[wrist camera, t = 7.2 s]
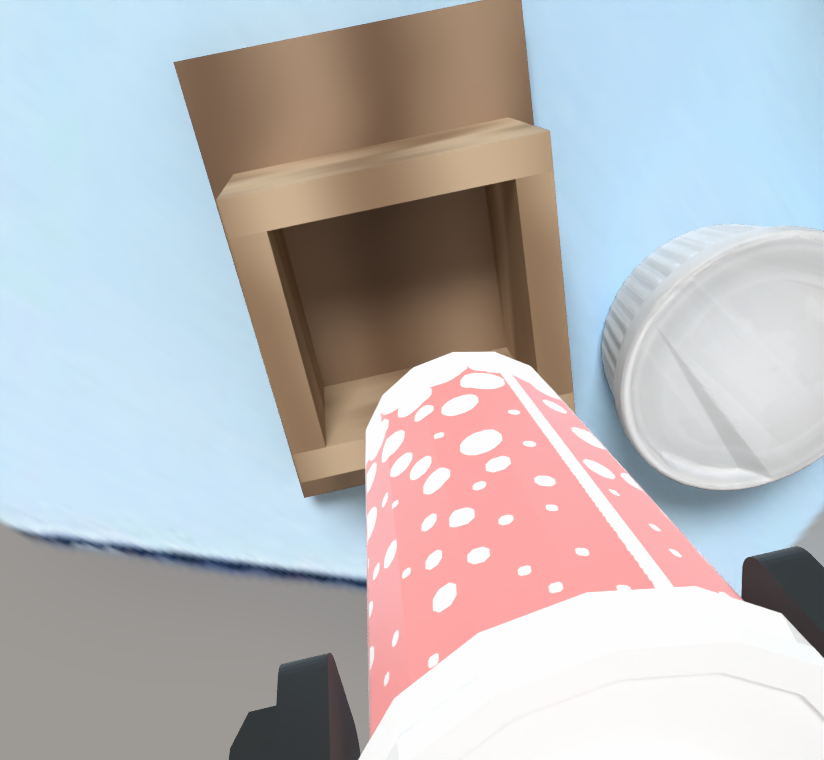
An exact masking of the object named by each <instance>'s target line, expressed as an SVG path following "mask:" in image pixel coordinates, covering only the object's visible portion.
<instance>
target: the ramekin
mask: <svg viewBox="0 0 824 760" xmlns="http://www.w3.org/2000/svg"><path fill="white" fill-rule="evenodd" d="M601 350H602V362H603V365H604V373H605V376H606V378H607V381H608V383H609V386H610V389H611V391H612V394H613V396H614V399H615V405H616V410H617V414H618V418H619V420H620V423H621V425H622V428H623V430H624V432H625V434H626V436H627V437H628V439H629V441H630V442H631V444H632V445H633V446H634V448H635V449H636V451H637V452H638V453H639V454H640V455H641V457H642V458H643V459H644V460H645V461H646V462H647V463H648V464H649V465H651V466H652V467H653V468H654V469H656V470H657V471H658V472H660V473H661V474H663V475H664V476H666V477H668V478H669V479H672V480H674V481H676V482H679V483H681V484H685V485H688V486H692V487H696V488H701V489H708V490H739V489H747V488H752V487H756V486H761V485H764V484H768V483H771V482H774V481H777V480H779V479H782V478H784V477H787V476H789V475H791V474H793V473H795V472H798V471H800V470H801V469H803V468H805V467H807V466H809V465H810V464H812V463H813V462H815V461H817V460H818V459H820V458H821V457H823V456H824V231H821V230H817V229H813V228H806V227H798V226H774V227H763V226H755V225H744V224H733V223H732V224H727V225H722V224H718V225H713V226H708V227H701V228H699V229H696V230H692V231H689V232H686V233H685V234H683V235H681V236H678V237H675V238H673V239H671V240H670V241H668V242H667V243H666V244H664V245H662V246H660V247H658V248H657V249H656V250H655V251H654V252H653V253H652V254H650V255H648V256H647V257H646V258H645V259H644V260H643V261H642V262H641V263H640V264H639V265H638V266H637V267H636V268H635V269H634V270H633V271H632V273H631V274H630V275H629V276H628V278H627V279H626V280H625V281H624V283H623V284H622V286H621V288H620V290H619V291H618V292H617V294H616V296H615V299H614V301H613V302H612V304H611V306H610V310H609V313H608V315H607V317H606V322H605V327H604V330H603V340H602V345H601Z"/></svg>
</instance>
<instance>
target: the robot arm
mask: <svg viewBox="0 0 824 760" xmlns="http://www.w3.org/2000/svg"><path fill="white" fill-rule="evenodd" d="M742 600H743V601H744V602H747V603H750V604H753V605H757V606H760V607H763V608H766V609H769V610H772V611H775V612H779V613H782V614H783V615H784V617H785V618H786V619H787V620H788V621H789V622H790V623H791V624H792V625H793V626H794V627H795V628H796V629H797V630H798V632H799V633H800V634H801V635H802V636H803V637H804V638H805V639H806V640H807V641H808V642H809V643H810V644H811V645H812V647H814V648H815V649H816V650H817V651H818V652H819V654H820V655H821V656H822V657H823V658H824V567H823V566H822V565H821V564H820V563H819V562H818V561H817V560H816V559H815V558H814V557H813V556H812V555H811V554H810V553H809V552H808V551H806V550H805V549H803V548H801V547H797V546H795V547H791V548H787V549H782V550H778V551H774V552H769V553H765V554H761V555H756V556H752V557H748V558H746V559H745V561H744V563H743V569H742ZM360 756H361V755H360V748H359V742H358V737H357V732H356V728H355V724H354V720H353V717H352V714H351V711H350V707H349V704H348V701H347V698H346V695H345V692H344V688H343V685H342V682H341V679H340V676H339V673H338V670H337V667H336V663H335V660H334V658H333V655H332V654H331V653H328V654H323V655H319V656H315V657H310V658H306V659H302V660H298V661H294V662H289V663H285V664H281V665H280V668H279V673H278V687H277V705H276V706H273V707H268V708H264V709H260V710H256V711H252V712H249V713H248V715H247V717H246V719H245V721H244V723H243V725H242V727H241V729H240V731H239V732H238V734H237V736H236V738H235V740H234V742H233V745H232V746H231V748H230V755H229V760H358V759H359V758H360Z"/></svg>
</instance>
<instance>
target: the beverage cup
mask: <svg viewBox="0 0 824 760" xmlns="http://www.w3.org/2000/svg"><path fill="white" fill-rule="evenodd" d="M365 480H366V551H367V618H368V619H367V620H368V621H367V623H368V689H369V690H368V693H369V742H368V744H367V746H366V747H365V749H364V751H363V752H362V754H361V756H360V758H359V759H358V760H824V658H823V657H822V656H821V655H820V654H819V652H818V651H817V650H816V649H815V648H814V647H812V645H811V644H810V643H809V642H808V641H807V640H806V639H805V638H804V637H803V636H802V635H801V634H800V633H799V632H798V630H797V629H796V628H795V627H794V626H793V625H792V624H791V623H790V622H789V621H788V620H787V619H786V618H785V617H784V615H783V614H782V613H779V612H775V611H772V610H769V609H766V608H763V607H760V606H757V605H753V604H750V603H747V602H744V601H743V600H742V598H741V597H740V596H739V595H738V594H737V593H736V592H735V591H734V590H733V588H732V587H731V586H730V585H729V584H728V583H727V582H726V581H725V580H724V578H723V577H722V576H721V575H720V574H719V573H718V572H717V571H716V570H715V569H714V567H713V566H712V565H711V564H710V563H709V562H708V561H707V560H706V559H705V557H704V556H703V555H702V554H701V553H700V552H699V551H698V550H697V549H696V547H695V546H694V545H693V544H692V543H691V542H690V541H689V540H688V539H687V537H686V536H685V535H684V534H683V533H682V532H681V531H680V530H679V529H678V528H677V526H676V525H675V524H674V523H673V522H672V521H671V520H670V519H669V518H668V516H667V515H666V514H665V513H664V512H663V511H662V510H661V509H660V508H659V506H658V505H657V504H656V503H655V502H654V501H653V500H652V499H651V498H650V497H649V495H648V494H647V493H646V492H645V491H644V490H643V489H642V488H641V487H640V485H639V484H638V483H637V482H636V481H635V480H634V479H633V478H632V477H631V475H630V474H629V473H628V472H627V471H626V470H625V469H624V468H623V467H622V465H621V464H620V463H619V462H618V461H617V460H616V459H615V458H614V457H613V456H612V454H611V453H610V452H609V451H608V450H607V449H606V448H605V447H604V446H603V444H602V443H601V442H600V441H599V440H598V439H597V438H596V437H595V436H594V434H593V433H592V432H591V431H590V430H589V429H588V428H587V427H586V426H585V425H584V423H583V422H582V421H581V420H580V419H579V418H578V417H577V416H576V415H575V413H574V412H573V411H572V410H571V409H570V408H569V407H568V406H567V405H566V403H565V402H564V401H563V400H562V399H561V398H560V397H559V396H558V395H557V393H556V392H555V391H554V390H553V389H552V388H551V387H550V386H549V385H548V384H547V383H546V382H545V381H544V380H543V379H542V378H541V377H540V376H539V374H538V373H537V372H536V371H535V370H534V369H533V368H532V367H531V366H529V365H527V364H524V363H522V362H519V361H516V360H514V359H511V358H509V357H506V356H504V355H501V354H499V353H496V352H452V353H449V354H447V355H444V356H442V357H439V358H437V359H434V360H431V361H429V362H426V363H424V364H421V365H419V366H416V367H414V368H412V369H411V370H410V371H409V372H408V373H407V374H406V375H404V376H403V377H402V378H401V379H400V380H399V381H398V382H397V383H396V384H394V385H393V386H392V387H391V388H390V389H389V390H388V391H387V392H386V393H384V394H383V395H382V397H381V399H380V401H379V404H378V406H377V408H376V410H375V412H374V414H373V416H372V418H371V420H370V422H369V424H368V426H367V429H366V452H365Z"/></svg>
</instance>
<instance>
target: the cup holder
mask: <svg viewBox="0 0 824 760" xmlns="http://www.w3.org/2000/svg"><path fill="white" fill-rule="evenodd" d="M174 65H175V69H176V72H177V75H178V79H179V82H180V85H181V89H182V92H183V95H184V99H185V102H186V105H187V109H188V112H189V115H190V119H191V122H192V125H193V129H194V132H195V135H196V139H197V142H198V145H199V149H200V152H201V155H202V159H203V162H204V165H205V169H206V172H207V175H208V179H209V182H210V185H211V189H212V192H213V195H214V199H215V202H216V205H217V209H218V212H219V215H220V219H221V222H222V225H223V229H224V232H225V235H226V239H227V242H228V245H229V249H230V252H231V255H232V258H233V262H234V265H235V268H236V272H237V275H238V278H239V282H240V285H241V288H242V292H243V295H244V298H245V302H246V305H247V308H248V312H249V315H250V318H251V322H252V325H253V328H254V332H255V335H256V338H257V342H258V345H259V348H260V352H261V355H262V358H263V362H264V365H265V368H266V372H267V375H268V378H269V382H270V385H271V388H272V392H273V395H274V398H275V402H276V405H277V408H278V412H279V415H280V418H281V422H282V425H283V428H284V432H285V435H286V438H287V442H288V445H289V448H290V452H291V455H292V458H293V462H294V465H295V468H296V472H297V475H298V478H299V482H300V485H301V488H302V492H303V495H304V498H305V497H310V496H314V495H319V494H323V493H328V492H332V491H337V490H341V489H346V488H350V487H354V486H359V485H363V484H366V480H365V452H366V429H367V426H368V424H369V422H370V420H371V418H372V416H373V414H374V412H375V410H376V408H377V406H378V404H379V401H380V399H381V397H382V395H383V394H384V393H386V392H387V391H388V390H389V389H390V388H391V387H392V386H393V385H394V384H396V383H397V382H398V381H399V380H400V379H401V378H402V377H403V376H404V375H406V374H407V373H408V372H409V371H410V370H411V369H412V368H414V367H416V366H419V365H421V364H424V363H426V362H429V361H431V360H434V359H437V358H439V357H442V356H444V355H447V354H449V353H452V352H496V353H499V354H501V355H504V356H506V357H509V358H511V359H514V360H516V361H519V362H522V363H524V364H527V365H529V366H531V367H532V368H533V369H534V370H535V371H536V372H537V373H538V374H539V376H540V377H541V378H542V379H543V380H544V381H545V382H546V383H547V384H548V385H549V386H550V387H551V388H552V389H553V390H554V391H555V392H556V393H557V395H558V396H559V397H560V398H561V399H562V400H563V401H564V402H565V403H566V405H567V406H568V407H569V408H570V409H571V410H572V411H573V412H574V413H575V405H574V394H573V383H572V372H571V360H570V349H569V338H568V327H567V316H566V305H565V294H564V283H563V272H562V261H561V249H560V238H559V227H558V216H557V205H556V194H555V183H554V172H553V161H552V150H551V138H550V131H549V130H546V129H543V128H540V127H537V126H534V122H533V112H532V102H531V92H530V82H529V72H528V62H527V52H526V41H525V31H524V21H523V11H522V1H521V0H482V1H477V2H472V3H467V4H462V5H457V6H452V7H447V8H442V9H437V10H432V11H427V12H422V13H417V14H412V15H407V16H402V17H397V18H392V19H387V20H382V21H377V22H372V23H367V24H362V25H357V26H352V27H347V28H342V29H337V30H332V31H327V32H322V33H317V34H312V35H307V36H302V37H297V38H292V39H287V40H282V41H277V42H272V43H267V44H262V45H257V46H252V47H247V48H242V49H237V50H232V51H227V52H222V53H217V54H212V55H207V56H202V57H197V58H192V59H187V60H182V61H177V62H174Z"/></svg>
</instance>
